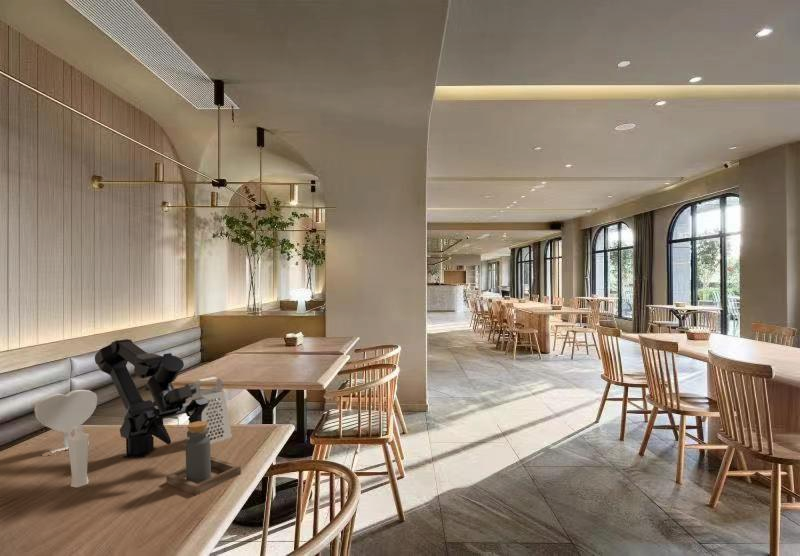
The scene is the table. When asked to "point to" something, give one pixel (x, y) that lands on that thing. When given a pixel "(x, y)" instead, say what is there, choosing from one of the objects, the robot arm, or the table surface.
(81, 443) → the perfume bottle
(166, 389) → the robot arm
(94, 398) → the heart sculpture
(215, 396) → the grater
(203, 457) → the bottle
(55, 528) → the table surface
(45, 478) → the table surface
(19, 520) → the table surface
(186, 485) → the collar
